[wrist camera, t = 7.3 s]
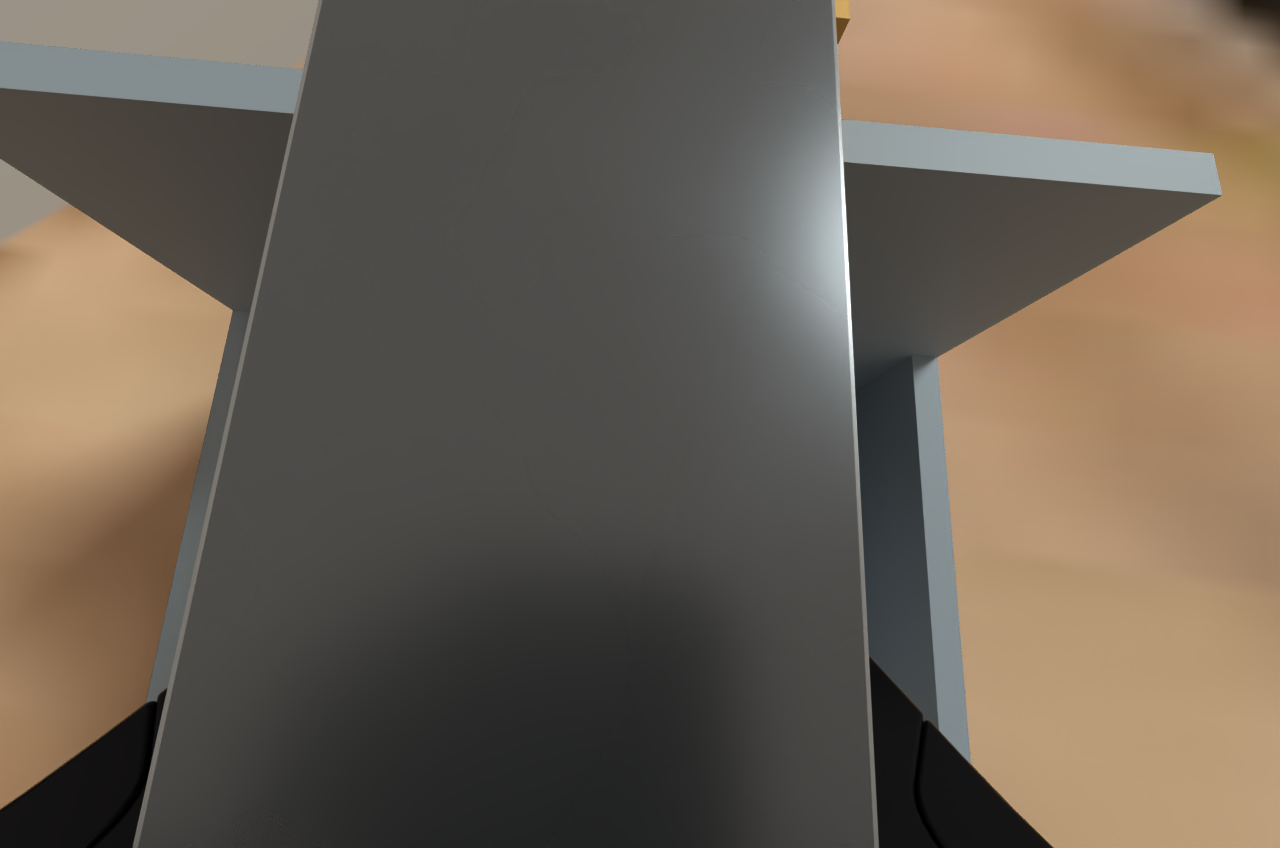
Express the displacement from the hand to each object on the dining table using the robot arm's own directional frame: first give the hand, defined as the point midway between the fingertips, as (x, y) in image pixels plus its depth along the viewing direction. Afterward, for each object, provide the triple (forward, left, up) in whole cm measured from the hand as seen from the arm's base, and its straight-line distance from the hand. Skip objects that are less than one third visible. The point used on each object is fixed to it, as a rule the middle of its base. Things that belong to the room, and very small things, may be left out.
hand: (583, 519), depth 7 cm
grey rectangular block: (0, 0, -7) cm, 7 cm away
